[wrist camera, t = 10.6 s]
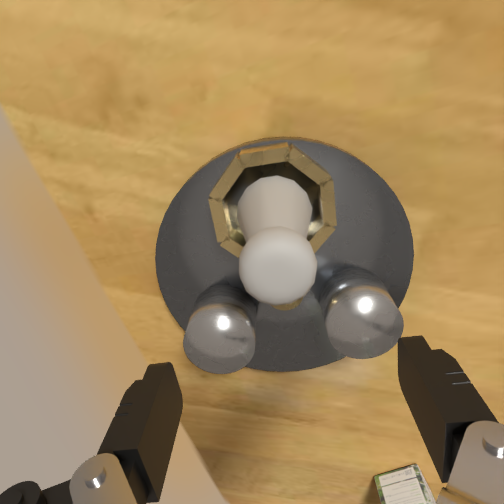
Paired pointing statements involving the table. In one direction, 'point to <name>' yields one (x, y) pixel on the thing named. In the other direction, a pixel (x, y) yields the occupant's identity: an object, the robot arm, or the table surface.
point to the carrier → (324, 247)
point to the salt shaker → (276, 241)
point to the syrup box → (404, 487)
